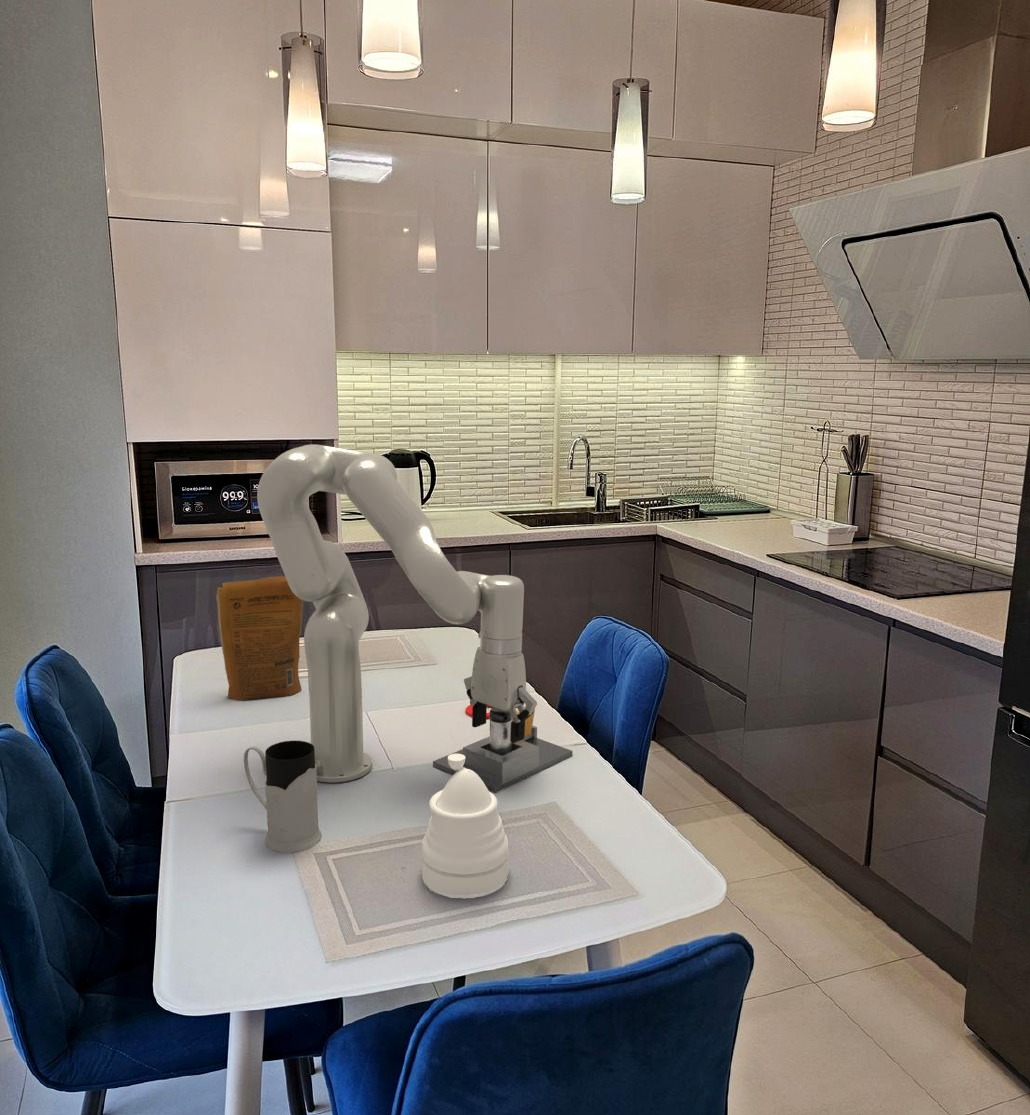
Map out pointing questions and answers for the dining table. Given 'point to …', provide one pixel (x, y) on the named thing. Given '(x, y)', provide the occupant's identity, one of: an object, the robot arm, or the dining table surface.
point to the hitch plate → (544, 762)
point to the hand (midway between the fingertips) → (497, 732)
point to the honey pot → (464, 837)
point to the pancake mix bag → (260, 637)
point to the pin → (500, 731)
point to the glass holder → (289, 795)
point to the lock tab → (527, 726)
